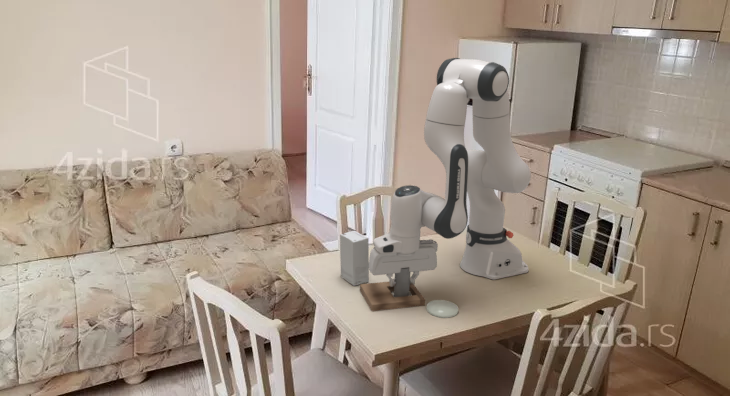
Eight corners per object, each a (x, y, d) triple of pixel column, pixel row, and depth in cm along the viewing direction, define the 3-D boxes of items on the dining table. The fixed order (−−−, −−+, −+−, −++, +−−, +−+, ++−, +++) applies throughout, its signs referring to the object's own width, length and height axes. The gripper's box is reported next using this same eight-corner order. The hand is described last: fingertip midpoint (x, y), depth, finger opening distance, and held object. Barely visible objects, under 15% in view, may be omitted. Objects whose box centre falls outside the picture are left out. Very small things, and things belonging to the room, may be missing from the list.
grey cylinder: (398, 301, 174) (400, 269, 171) (390, 294, 178) (392, 263, 175) (411, 298, 176) (413, 266, 173) (403, 292, 180) (405, 260, 177)
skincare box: (369, 282, 185) (370, 238, 181) (352, 286, 182) (354, 242, 178) (354, 272, 192) (355, 229, 187) (338, 276, 189) (339, 232, 184)
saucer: (450, 300, 176) (450, 298, 176) (463, 316, 168) (463, 313, 167) (421, 303, 173) (422, 301, 173) (433, 319, 165) (433, 316, 165)
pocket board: (409, 285, 185) (410, 279, 184) (424, 305, 173) (425, 299, 172) (359, 290, 180) (360, 284, 180) (371, 311, 168) (372, 304, 168)
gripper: (434, 234, 177) (430, 277, 182) (367, 239, 172) (366, 283, 176) (442, 243, 171) (438, 286, 176) (374, 248, 166) (372, 292, 171)
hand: (401, 284), depth 176 cm, fingers closed on grey cylinder, 4 cm apart
